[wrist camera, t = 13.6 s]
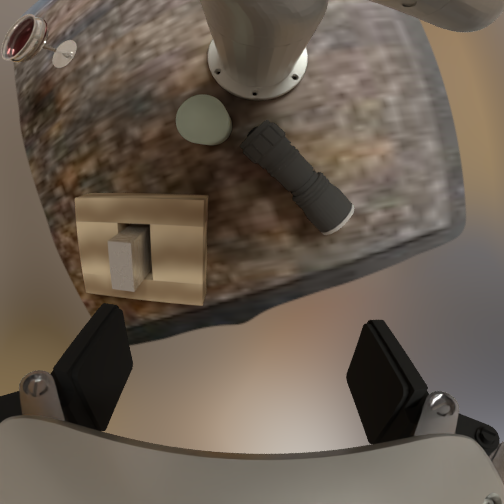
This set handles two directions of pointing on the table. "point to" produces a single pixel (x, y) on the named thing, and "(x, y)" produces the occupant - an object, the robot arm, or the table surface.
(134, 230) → the block
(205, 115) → the round bit
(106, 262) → the socket block
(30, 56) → the wineglass
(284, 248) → the table surface
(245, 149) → the flashlight
